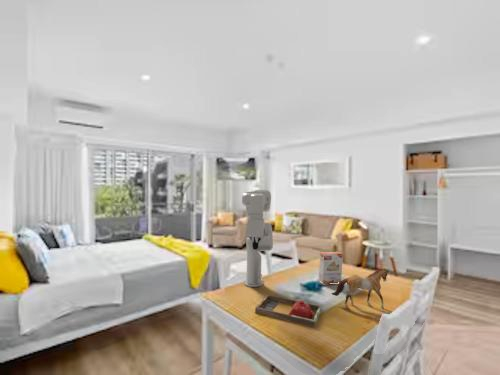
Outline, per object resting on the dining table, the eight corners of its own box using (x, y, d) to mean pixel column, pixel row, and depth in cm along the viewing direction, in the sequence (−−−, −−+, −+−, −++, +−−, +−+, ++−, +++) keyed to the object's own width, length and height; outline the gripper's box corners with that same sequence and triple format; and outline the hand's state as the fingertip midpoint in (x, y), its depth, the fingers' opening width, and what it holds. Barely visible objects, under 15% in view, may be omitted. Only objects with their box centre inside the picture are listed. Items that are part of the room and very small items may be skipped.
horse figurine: (385, 303, 153) (386, 267, 152) (392, 310, 145) (394, 272, 145) (330, 302, 152) (332, 266, 152) (335, 309, 145) (336, 271, 144)
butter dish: (310, 325, 128) (310, 307, 128) (286, 319, 133) (287, 302, 132) (314, 315, 138) (315, 298, 138) (292, 310, 143) (293, 294, 143)
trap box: (267, 298, 155) (267, 294, 155) (321, 310, 142) (321, 305, 142) (255, 312, 138) (255, 307, 138) (314, 327, 126) (314, 321, 126)
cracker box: (323, 286, 176) (324, 254, 176) (318, 282, 182) (319, 251, 182) (341, 284, 180) (342, 253, 180) (336, 281, 186) (337, 251, 185)
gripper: (241, 216, 152) (240, 248, 152) (266, 218, 145) (265, 252, 146) (247, 214, 158) (246, 245, 159) (271, 216, 152) (270, 249, 153)
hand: (255, 248), depth 152 cm, fingers closed
